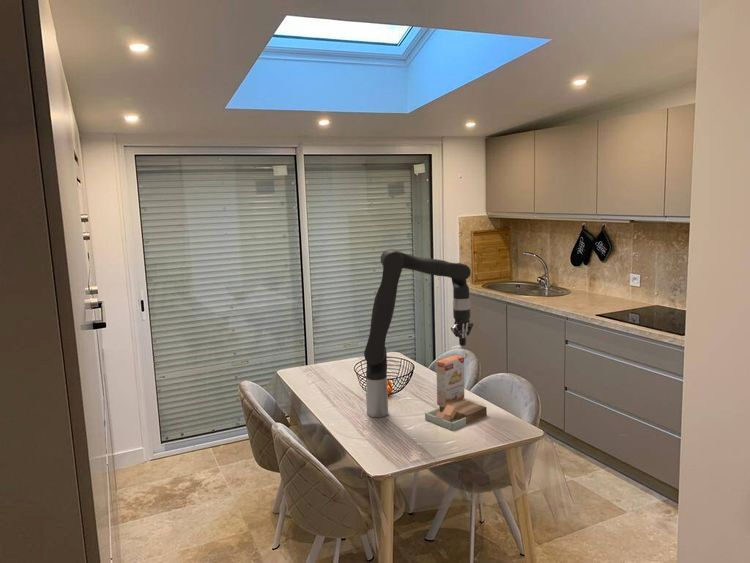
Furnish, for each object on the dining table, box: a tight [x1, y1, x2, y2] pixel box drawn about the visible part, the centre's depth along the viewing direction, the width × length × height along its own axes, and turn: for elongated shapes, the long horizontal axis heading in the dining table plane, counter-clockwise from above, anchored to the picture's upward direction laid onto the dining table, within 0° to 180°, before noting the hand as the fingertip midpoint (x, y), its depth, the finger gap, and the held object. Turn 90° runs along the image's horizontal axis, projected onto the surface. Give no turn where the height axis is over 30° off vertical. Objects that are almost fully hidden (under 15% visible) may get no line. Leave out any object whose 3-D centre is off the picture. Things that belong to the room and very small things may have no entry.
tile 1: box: [435, 411, 451, 421], centre depth 232 cm, size 4×4×2 cm
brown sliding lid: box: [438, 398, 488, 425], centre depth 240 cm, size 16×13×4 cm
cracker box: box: [435, 354, 465, 405], centre depth 256 cm, size 14×6×21 cm, turn 132°
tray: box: [424, 407, 467, 431], centre depth 233 cm, size 16×9×3 cm, turn 39°
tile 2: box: [442, 405, 458, 419], centre depth 234 cm, size 4×4×2 cm
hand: (462, 345), depth 246 cm, fingers closed
